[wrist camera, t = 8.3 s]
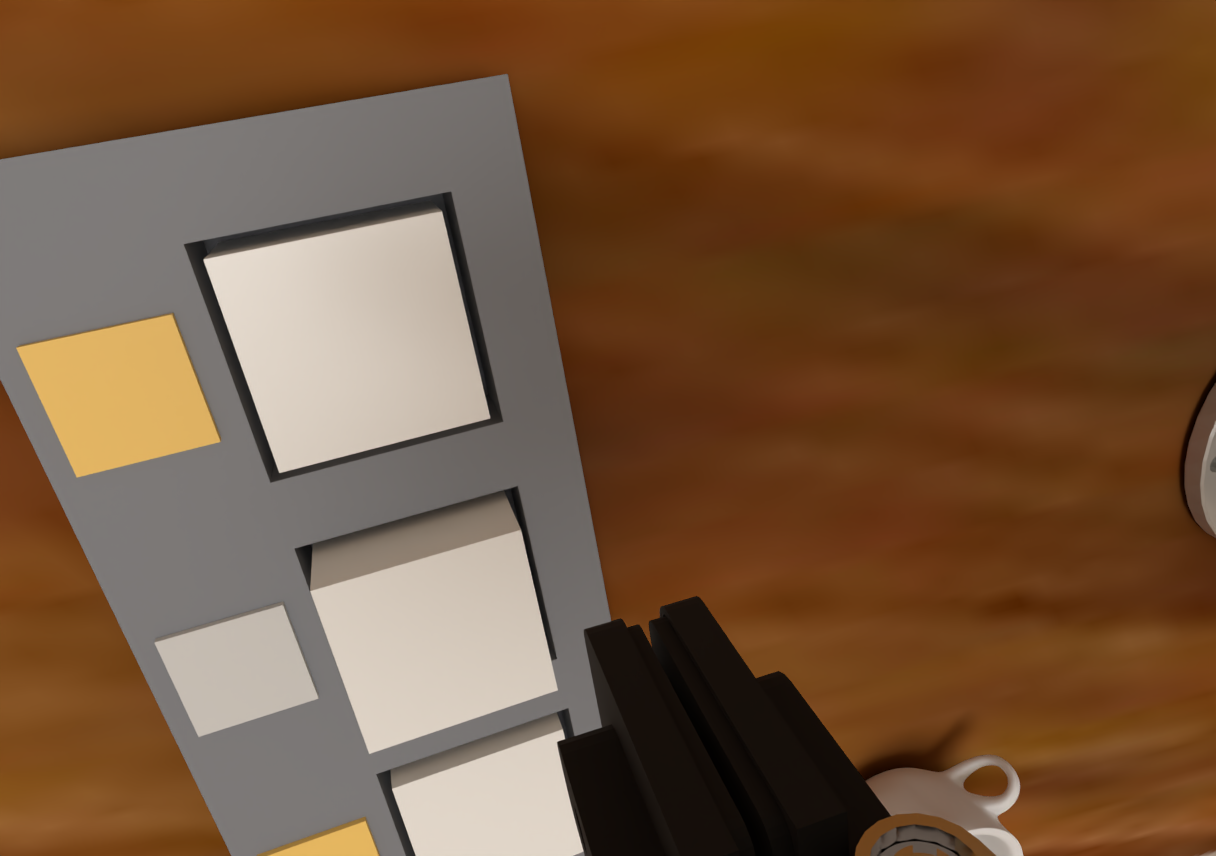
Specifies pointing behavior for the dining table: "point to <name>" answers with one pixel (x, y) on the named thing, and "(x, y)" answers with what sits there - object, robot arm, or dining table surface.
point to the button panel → (239, 450)
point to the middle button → (432, 619)
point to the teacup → (953, 799)
